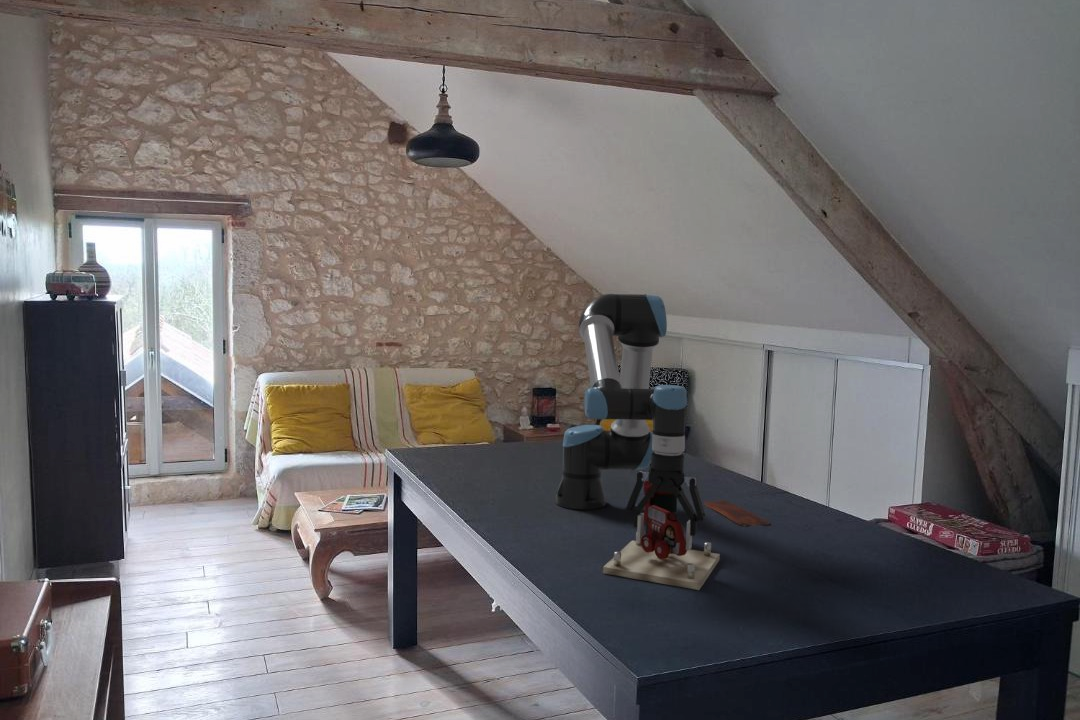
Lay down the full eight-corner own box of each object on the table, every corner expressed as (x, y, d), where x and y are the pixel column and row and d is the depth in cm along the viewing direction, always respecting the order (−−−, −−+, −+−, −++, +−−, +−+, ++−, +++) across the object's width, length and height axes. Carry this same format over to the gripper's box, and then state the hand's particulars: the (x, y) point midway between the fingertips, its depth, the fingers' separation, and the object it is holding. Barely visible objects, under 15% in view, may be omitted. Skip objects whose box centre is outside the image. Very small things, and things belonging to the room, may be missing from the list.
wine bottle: (632, 537, 212) (636, 423, 209) (662, 532, 217) (667, 421, 214) (651, 545, 205) (656, 428, 202) (682, 540, 210) (687, 426, 208)
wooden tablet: (772, 527, 227) (773, 521, 226) (740, 529, 224) (740, 523, 224) (728, 502, 252) (728, 496, 252) (698, 503, 250) (699, 497, 250)
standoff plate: (603, 573, 184) (603, 553, 184) (631, 546, 204) (632, 528, 204) (699, 590, 175) (700, 569, 175) (719, 560, 196) (720, 541, 195)
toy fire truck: (669, 564, 182) (671, 518, 182) (636, 548, 193) (638, 505, 192) (693, 559, 186) (695, 515, 185) (659, 544, 197) (661, 502, 196)
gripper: (614, 449, 189) (611, 541, 191) (715, 460, 179) (710, 557, 181) (624, 444, 196) (621, 533, 198) (721, 454, 186) (717, 548, 188)
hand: (663, 545), depth 189 cm, fingers closed on toy fire truck, 11 cm apart
